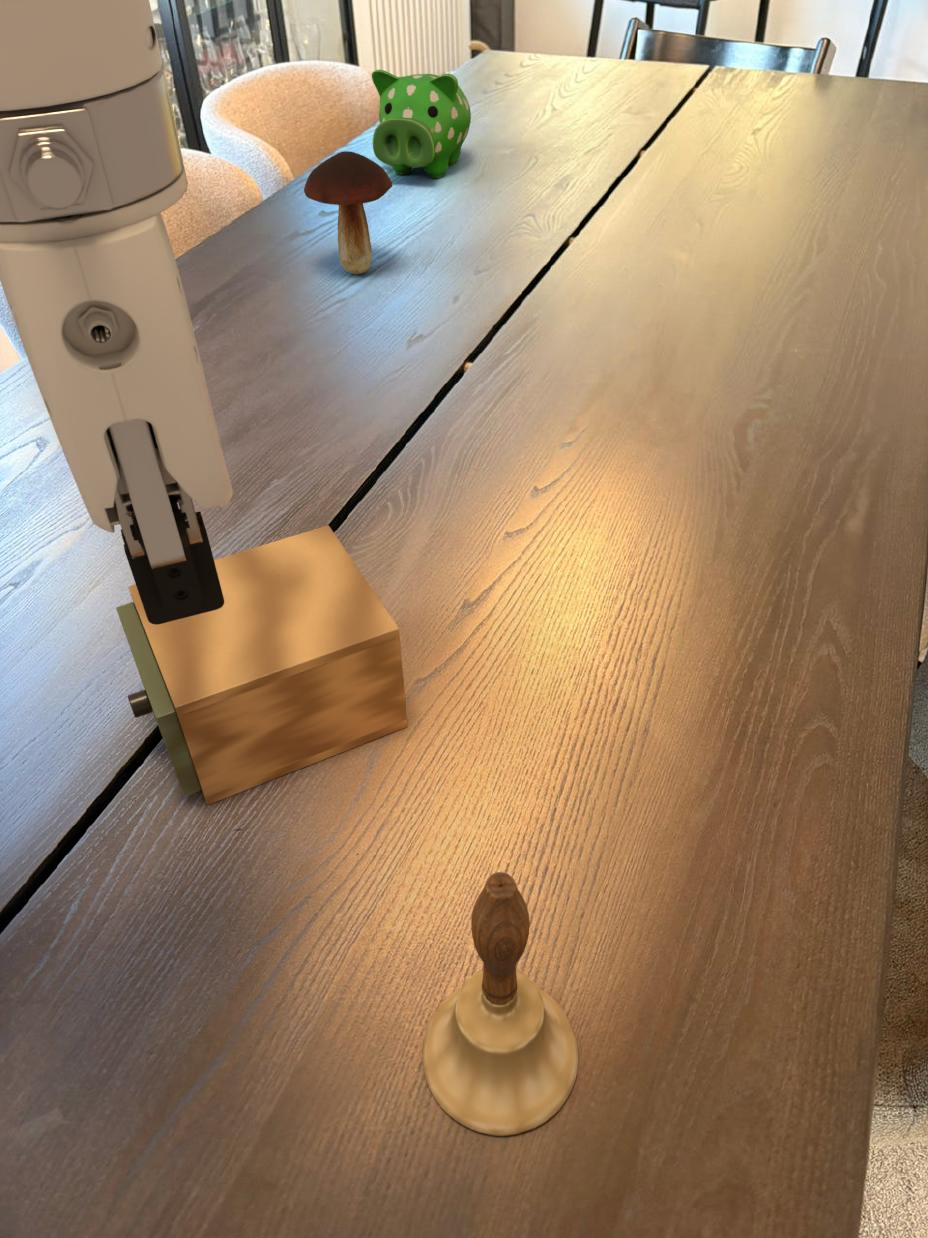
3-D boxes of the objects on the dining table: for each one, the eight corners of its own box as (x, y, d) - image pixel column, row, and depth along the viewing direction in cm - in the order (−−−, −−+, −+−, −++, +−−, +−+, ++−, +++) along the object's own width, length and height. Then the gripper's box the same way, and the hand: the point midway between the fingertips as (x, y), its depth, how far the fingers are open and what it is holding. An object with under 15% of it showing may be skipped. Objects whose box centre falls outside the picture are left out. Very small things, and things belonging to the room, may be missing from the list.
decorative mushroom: (366, 296, 121) (354, 171, 111) (298, 278, 126) (281, 157, 115) (414, 265, 128) (407, 145, 118) (348, 250, 132) (336, 133, 122)
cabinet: (207, 805, 63) (175, 707, 57) (160, 683, 71) (127, 586, 65) (407, 726, 68) (399, 628, 61) (342, 621, 76) (328, 524, 70)
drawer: (166, 804, 62) (136, 725, 57) (127, 691, 70) (97, 612, 64) (373, 724, 67) (363, 644, 62) (316, 626, 74) (303, 548, 69)
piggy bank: (363, 183, 152) (354, 78, 142) (404, 149, 165) (398, 50, 155) (447, 191, 149) (444, 84, 139) (483, 156, 161) (482, 55, 151)
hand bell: (391, 1044, 51) (364, 880, 40) (506, 951, 55) (510, 778, 44) (492, 1174, 47) (493, 1027, 36) (611, 1062, 50) (644, 899, 40)
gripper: (219, 210, 24) (313, 700, 37) (146, 75, 35) (238, 492, 47) (-99, 259, 22) (113, 757, 35) (-76, 100, 33) (81, 528, 45)
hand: (185, 604), depth 41 cm, fingers closed
